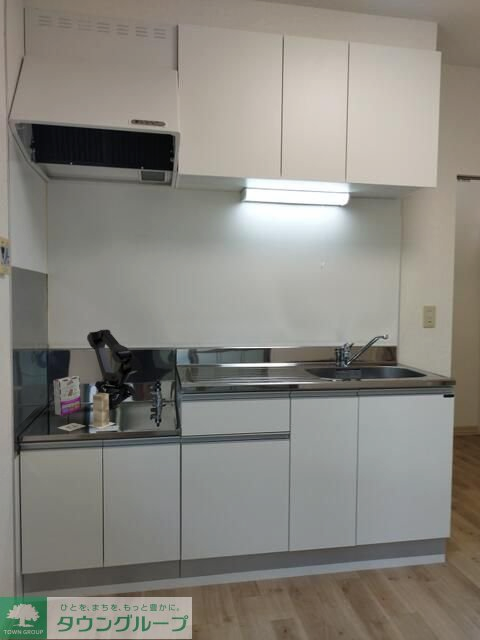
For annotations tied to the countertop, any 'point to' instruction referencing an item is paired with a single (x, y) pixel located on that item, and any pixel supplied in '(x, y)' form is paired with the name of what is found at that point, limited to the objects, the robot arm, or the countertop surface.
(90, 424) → the code tile
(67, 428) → the tile
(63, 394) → the candy bar box
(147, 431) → the countertop surface
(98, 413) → the beech block
